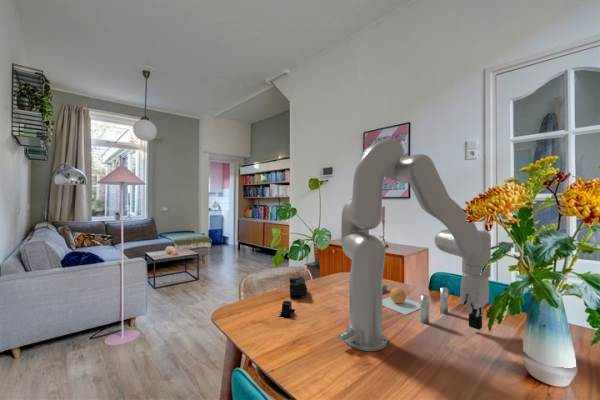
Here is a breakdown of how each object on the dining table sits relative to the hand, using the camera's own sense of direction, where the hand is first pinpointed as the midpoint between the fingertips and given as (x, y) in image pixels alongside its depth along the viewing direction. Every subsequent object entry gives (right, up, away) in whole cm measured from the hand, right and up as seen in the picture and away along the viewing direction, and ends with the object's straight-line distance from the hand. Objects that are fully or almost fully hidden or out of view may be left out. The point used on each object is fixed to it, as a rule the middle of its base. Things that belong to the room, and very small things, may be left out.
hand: (475, 327), depth 86 cm
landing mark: (-16, -1, +22) cm, 27 cm away
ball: (-16, +2, +23) cm, 28 cm away
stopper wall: (-24, -1, +33) cm, 41 cm away
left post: (-13, -1, +7) cm, 15 cm away
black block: (-60, -2, +14) cm, 62 cm away
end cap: (-56, -1, +32) cm, 65 cm away
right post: (-2, -1, +14) cm, 15 cm away
